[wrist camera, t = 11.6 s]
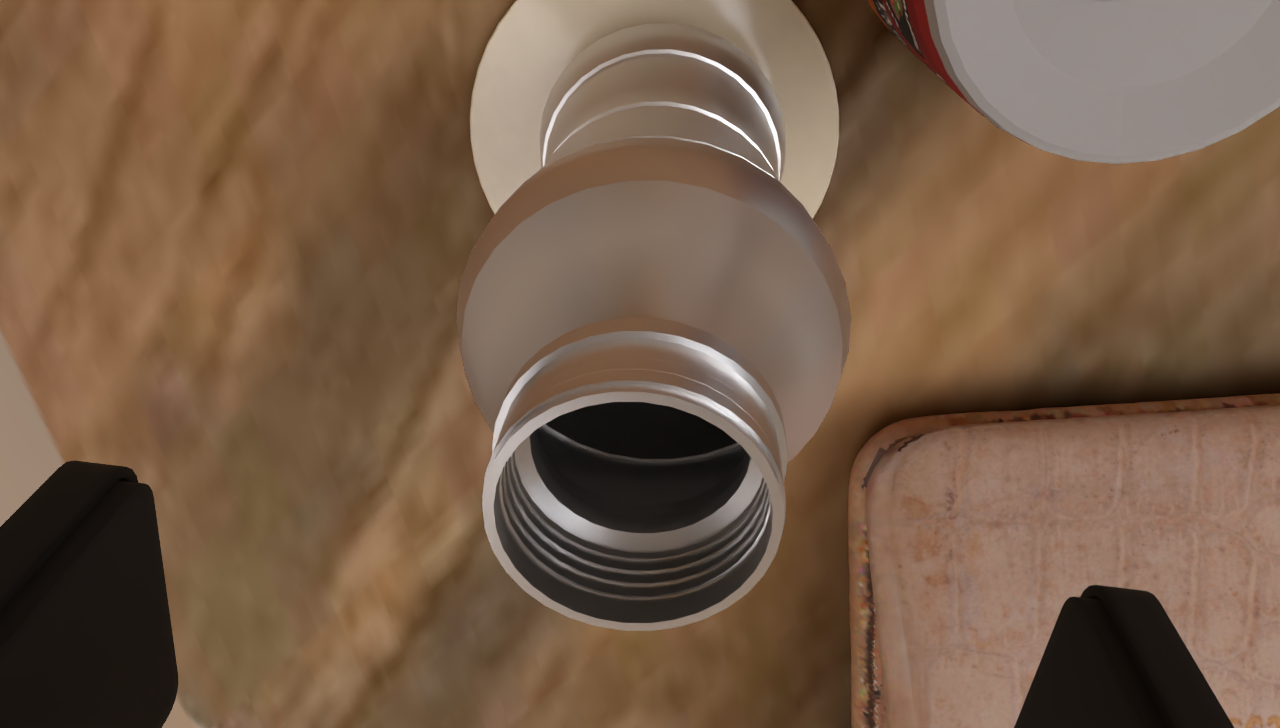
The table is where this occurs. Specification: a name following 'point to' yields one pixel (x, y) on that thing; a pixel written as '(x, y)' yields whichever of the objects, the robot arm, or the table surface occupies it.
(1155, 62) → the canned food
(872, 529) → the case
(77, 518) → the robot arm
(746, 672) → the table surface
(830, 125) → the coaster
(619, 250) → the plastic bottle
